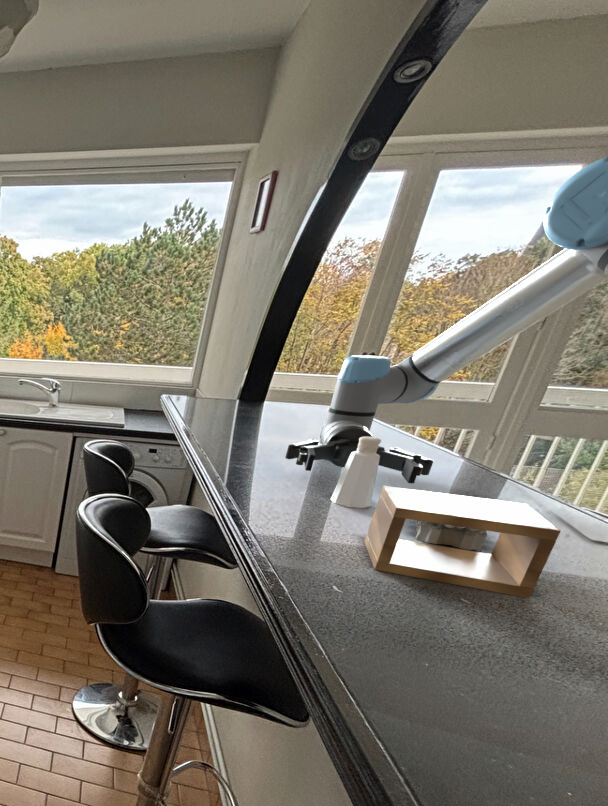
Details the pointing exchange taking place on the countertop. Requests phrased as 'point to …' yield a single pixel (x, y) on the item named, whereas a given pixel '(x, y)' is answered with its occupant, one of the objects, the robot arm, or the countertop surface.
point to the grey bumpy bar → (450, 535)
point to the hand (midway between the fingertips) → (360, 468)
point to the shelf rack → (499, 572)
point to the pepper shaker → (358, 475)
